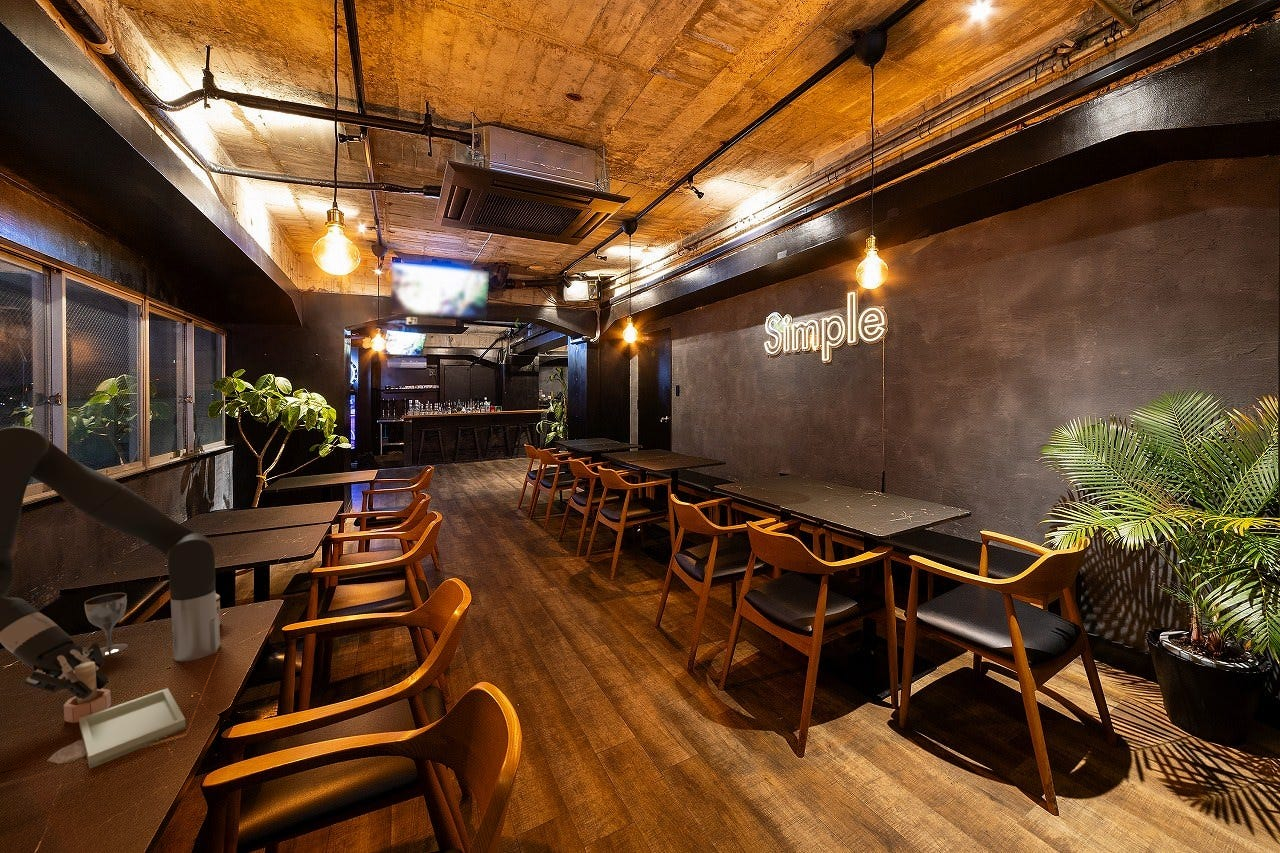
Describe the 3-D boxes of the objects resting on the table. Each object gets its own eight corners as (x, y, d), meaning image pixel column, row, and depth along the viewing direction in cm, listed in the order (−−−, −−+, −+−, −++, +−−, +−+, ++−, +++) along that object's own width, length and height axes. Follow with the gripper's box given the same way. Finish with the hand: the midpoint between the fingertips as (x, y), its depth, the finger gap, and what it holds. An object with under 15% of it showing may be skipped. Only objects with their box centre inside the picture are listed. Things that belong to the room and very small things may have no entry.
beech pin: (100, 706, 114) (97, 660, 113) (95, 713, 111) (91, 666, 110) (81, 710, 112) (78, 663, 111) (75, 718, 110) (72, 670, 109)
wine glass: (126, 640, 144) (123, 590, 143) (132, 649, 140) (129, 597, 139) (86, 651, 138) (82, 599, 137) (90, 661, 133) (86, 607, 132)
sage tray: (79, 729, 107) (79, 718, 107) (168, 697, 118) (167, 687, 118) (89, 768, 96) (88, 756, 96) (185, 730, 107) (185, 719, 107)
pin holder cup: (114, 702, 116) (113, 685, 116) (104, 717, 111) (102, 700, 110) (73, 711, 113) (72, 694, 113) (60, 728, 107) (59, 710, 107)
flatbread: (102, 733, 106) (102, 729, 106) (112, 748, 102) (111, 743, 102) (43, 757, 99) (43, 753, 99) (51, 774, 95) (51, 769, 95)
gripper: (7, 643, 103) (73, 698, 104) (81, 612, 117) (138, 662, 118) (-17, 668, 103) (49, 723, 105) (59, 634, 117) (116, 683, 119)
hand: (96, 690), depth 111 cm, fingers closed on beech pin, 3 cm apart
